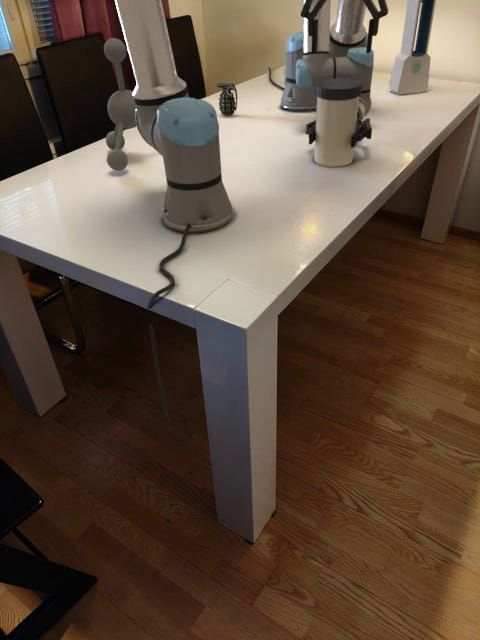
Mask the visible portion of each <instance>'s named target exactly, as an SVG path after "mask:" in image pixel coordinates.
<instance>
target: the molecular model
mask: <svg viewBox="0 0 480 640" xmlns="http://www.w3.org/2000/svg"><path fill="white" fill-rule="evenodd" d="M103 53H104V55H105V57H106V59H107V60H108V61H109V62H111V63H114V68H115V72H116V77H117V78H116V79H117V83H118V89H119V90H117V91H115V92H114V93H112V94H111V96H110V97H109V99H108V102H107V113H108V117H109V118H110V120H111V121H112V123H113V124H115V128H114V130H113V131H110V132H108V133H107V135H106V137H105V144H106V146H107V147H108V148H109V150H110V151H109V152H108V153H107V156H106V162H107V165H108V167H109V168H110V169H111V170H113V171H116V172H119V171H120V172H121V171H123V170H125V169H126V168H127V166H128V164H129V158H128V155H127V153H126V152H125V151H124V150H122V149H123V148H125V144H126V140H125V139H126V138H125V137H124V130H130V129H131V130H132V129H134V128H137V126H136V121H135V112H136V106H135V102H134V99H133V95H132V94H133V91H134V90H130V89H126V86H125V80H124V73H123V69H122V62H123V61H124V60H125V58H126V57H127V46H126V45H125V43H124V42H123V41H122V40H121V39H119V38H116V37H112V38H111V37H110V38H109V39H107V40H106V41H105V43H104V45H103Z"/></svg>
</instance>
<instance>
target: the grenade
mask: <svg viewBox="0 0 480 640" xmlns="http://www.w3.org/2000/svg"><path fill="white" fill-rule="evenodd" d="M215 87H217V88H219V89H221V93H219V97H218V101H219V102H218V106H219V108H218V109H219V112H220V114H221V115H222V116H224V117H231V116H233V115H234V113H235V112H236V111H237V108H238V89H237V87H236V85H235V84H234V83H233V82H218V83H217V84H216V86H215ZM232 91H233V92H232ZM234 94H235V96H234Z"/></svg>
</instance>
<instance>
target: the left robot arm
mask: <svg viewBox="0 0 480 640" xmlns="http://www.w3.org/2000/svg"><path fill="white" fill-rule="evenodd" d="M326 1H327V0H319V1H318V2H317V4H316V5H315V7H314V8H313V10H312V11H311V12H309V10H310V7H311V5H312V2H313V0H306V1H305V4H304V6H303V5H302V9H301V11H300V17H301V18H303V17H304V18H306V19H307V20H308V35H309V36H312V53H315V52H316V51H317V41H318V19H315V18H316V16H317V14H318V13H319V11H320V10H321V8H322V7H323V5H324V4H325V2H326ZM363 1H364V3H365V5H366V9H367V10H368V12H369V15H371V17H372V18H370V19H369V20H368V30H367V33H368V40H367V50H366V53H370V52H371V49H372V47H373V37H377V36H378V34H379V27H380V26H379V25H380V19H381V18H384V17H386V16H387V15H388V14H389V11H390V10H389V7H388V4H387V0H377V2H378V6H379V9H378V8H377V6H376V5H375V2H374V1H373V0H363ZM114 2H115V5H116V10H117V13H118V17H119V22H120V25H121V28H122V29H121V30H122V32H123V36H124V40H125V43H126V49H127V52H128V55H129V59H130V62H131V67H132V70H133V75H134V78H135V81H136V86H135V87H134V89H133V90H132V91H133V94H132V95H133V99H134V102H135V106H136V112H135V121H136V128H137V131H138V133H139V135H140V137H141V138H142V139H143V141H144V142H145V143H146V144H147V145H149V147H151V148H152V149H154V151H156V152H157V153H158V154H159V155H161V157H162V159H163V168H164V173H165V180H166V190H165V191H166V192H165V196H164V203H163V207H162V218H163V222H164V224H165V226H167V227H168V228H169V229H171V230H173V231H177V232H180V233H183V234H182V237H181V241H180V244H179V246H178V247H177V249H176V250H175V251H173V252H172V253H170V254H168V255H166V256H164V257H163V258H161V260H160V261H159V265H158V267H159V271H160V272H161V273H162V274H164V275H165V276H166V277H168V279H169V280H170V283H169V284H168V285H167V286H165V287H163V288H160V289H158V290H157V291H155V292H154V293H153V294H152V296H151V297H150V298H149V301H148V305H147V309H148V310H151V309H152V308H153V305H154V303H155V300H156V299H157V298H158V297H159V296H160V295H162V294H163V293H165V292H168V291H169V290H171V289H173V287H174V286H175V283H176V280H175V277H174V275H172V274H171V273H170V272H169V271H167V270H166V269H165V267H164V264H165V263H166V262H167V261H169V260H171V259H173V258H174V257H176V256H177V255H179V253H181V251H182V250H183V248H184V247H185V243H186V239H187V236H188V233H190V234H191V233H192V234H193V233H194V234H195V233H196V234H197V233H205V232H206V233H207V232H210V231H215V230H216V229H220V228H222V227H224V226H226V225H227V224H228V223H230V221H231V220H232V218H233V216H234V212H233V211H234V210H233V205H232V201H231V200H230V197H229V195H228V192H227V190H226V187H225V184H224V182H223V175H222V174H223V173H222V161H221V159H222V158H221V145H220V123H219V120H218V114H217V111H216V109H215V107H214V105H212V104H211V103H210V102H209V101H207V100H204V99H201V98H199V99H196V98H195V97H190V95H189V91H188V90H189V89H188V86H187V85H188V84H187V83H186V81H185V80H183V79H181V78H180V76H179V75H178V73H177V68H176V63H175V59H174V53H173V48H172V45H171V40H170V35H169V31H168V26H167V21H166V16H165V12H164V6H163V2H162V0H114ZM148 327H149V333H150V341H151V349H152V354H153V355H152V357H153V363H154V368H155V373H156V379H157V384H158V386H159V388H158V389H159V392H160V393H159V394H160V396H161V401H162V406H163V410H164V411H163V412H164V416H165V420H166V423H167V424H168V425H169V424H170V423H171V417H170V411H169V407H168V402H167V398H166V397H167V396H166V393H165V389H164V384H163V378H162V375H161V368H160V363H159V355H158V350H157V340H156V333H155V332H156V331H155V325H152V324H148Z"/></svg>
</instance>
